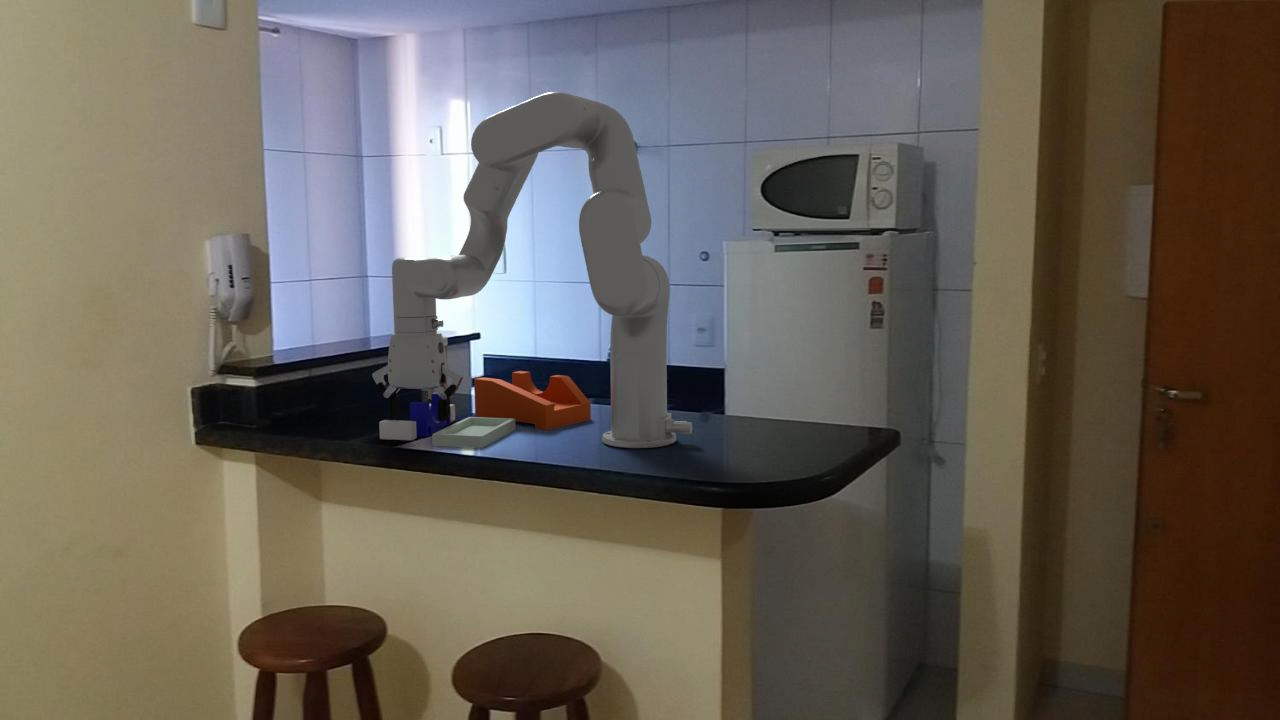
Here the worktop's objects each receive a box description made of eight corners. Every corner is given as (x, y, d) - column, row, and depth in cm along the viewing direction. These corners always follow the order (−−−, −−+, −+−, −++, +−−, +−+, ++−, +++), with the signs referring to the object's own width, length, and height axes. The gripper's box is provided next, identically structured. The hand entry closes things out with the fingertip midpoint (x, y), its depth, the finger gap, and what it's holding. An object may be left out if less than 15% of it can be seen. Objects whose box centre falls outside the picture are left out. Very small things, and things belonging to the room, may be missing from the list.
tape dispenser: (475, 422, 203) (474, 378, 202) (521, 412, 213) (520, 371, 212) (546, 432, 192) (545, 387, 191) (590, 421, 202) (590, 378, 201)
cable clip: (427, 423, 200) (426, 392, 200) (450, 424, 200) (449, 392, 199) (403, 436, 189) (401, 403, 188) (427, 437, 188) (426, 403, 187)
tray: (515, 429, 193) (515, 418, 193) (482, 447, 178) (482, 436, 177) (469, 427, 195) (468, 416, 195) (432, 445, 180) (432, 434, 179)
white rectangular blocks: (455, 420, 203) (454, 404, 202) (411, 440, 184) (410, 423, 184) (426, 418, 204) (425, 403, 204) (379, 438, 186) (379, 422, 185)
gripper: (468, 324, 193) (471, 417, 195) (381, 323, 197) (384, 414, 199) (451, 328, 186) (454, 425, 188) (361, 327, 190) (365, 421, 192)
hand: (418, 419), depth 194 cm, fingers open, 9 cm apart
